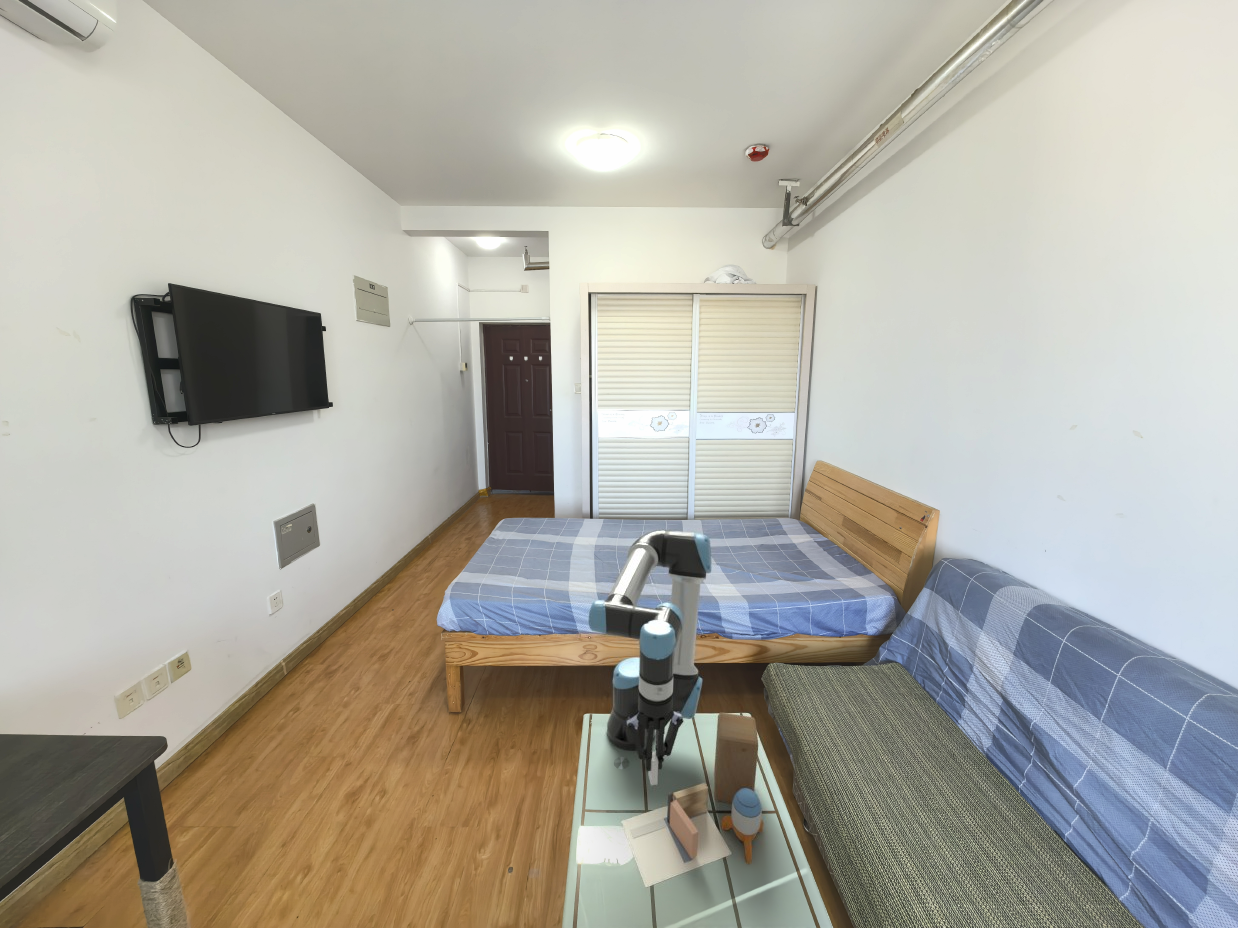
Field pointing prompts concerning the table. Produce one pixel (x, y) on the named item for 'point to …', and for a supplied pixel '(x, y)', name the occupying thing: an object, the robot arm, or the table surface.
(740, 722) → the wooden block
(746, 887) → the table surface
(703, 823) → the card
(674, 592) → the robot arm
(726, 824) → the toy rocket
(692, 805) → the fixed fence panel
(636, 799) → the table surface
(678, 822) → the hinged fence panel
